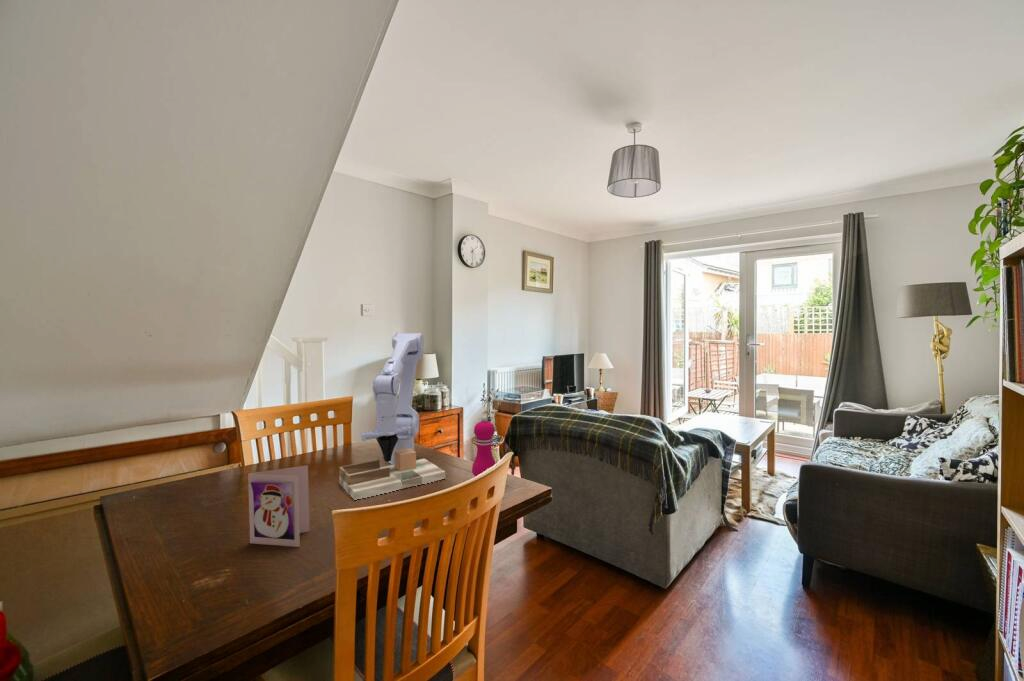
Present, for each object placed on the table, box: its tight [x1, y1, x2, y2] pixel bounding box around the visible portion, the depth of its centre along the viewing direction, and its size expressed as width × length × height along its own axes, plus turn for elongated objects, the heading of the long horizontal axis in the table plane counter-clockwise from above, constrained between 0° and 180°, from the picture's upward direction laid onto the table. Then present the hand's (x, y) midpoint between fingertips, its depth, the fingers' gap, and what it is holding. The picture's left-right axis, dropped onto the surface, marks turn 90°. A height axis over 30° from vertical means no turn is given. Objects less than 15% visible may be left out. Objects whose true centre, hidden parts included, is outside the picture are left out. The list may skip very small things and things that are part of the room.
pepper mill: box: [471, 415, 497, 477], centre depth 124 cm, size 7×7×20 cm
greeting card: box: [247, 465, 310, 548], centre depth 93 cm, size 11×7×15 cm, turn 82°
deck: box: [338, 458, 446, 501], centre depth 127 cm, size 15×26×2 cm, turn 126°
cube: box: [394, 448, 417, 472], centre depth 131 cm, size 5×5×5 cm
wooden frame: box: [338, 459, 390, 485], centre depth 124 cm, size 10×12×2 cm
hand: (387, 460), depth 128 cm, fingers closed
